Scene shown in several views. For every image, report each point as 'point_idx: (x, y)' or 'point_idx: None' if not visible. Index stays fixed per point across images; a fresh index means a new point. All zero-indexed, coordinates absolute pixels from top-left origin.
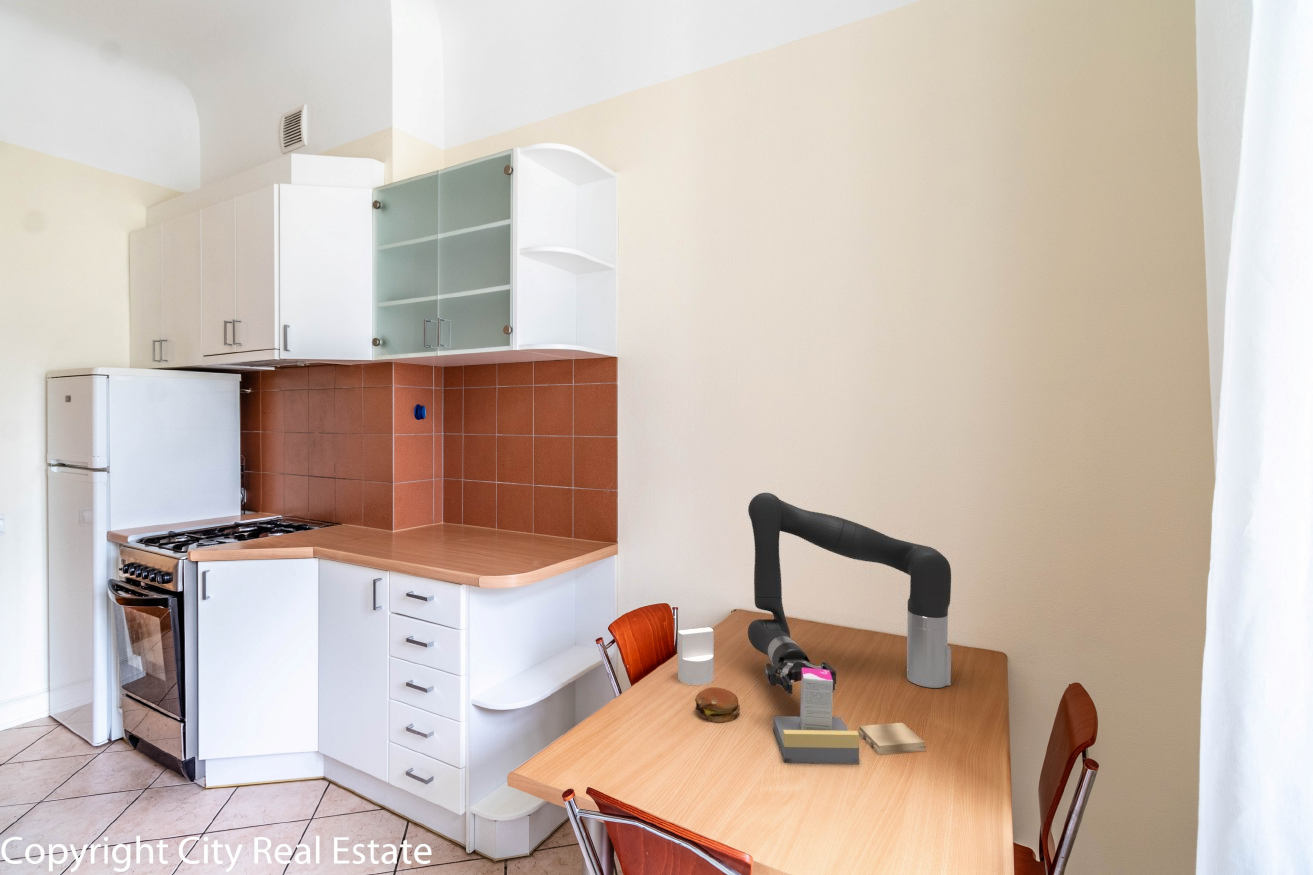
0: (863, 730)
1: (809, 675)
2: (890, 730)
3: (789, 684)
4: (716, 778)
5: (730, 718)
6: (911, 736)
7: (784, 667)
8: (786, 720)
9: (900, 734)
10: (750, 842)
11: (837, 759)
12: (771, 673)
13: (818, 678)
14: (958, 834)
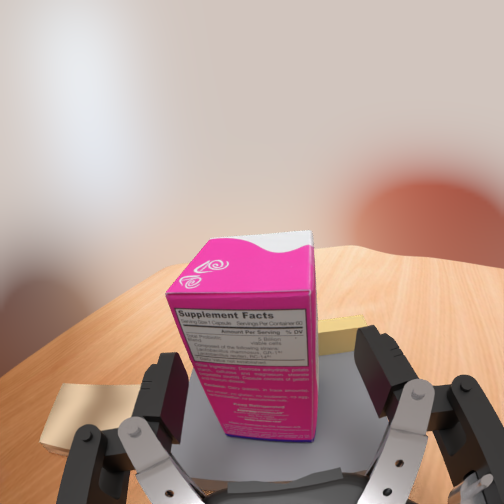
0: None
1: (286, 243)
2: (80, 426)
3: (369, 327)
4: (445, 307)
5: None
6: (65, 401)
7: (420, 453)
8: (356, 447)
9: (75, 410)
10: (375, 254)
11: None
12: (472, 384)
13: (255, 237)
14: (173, 281)
